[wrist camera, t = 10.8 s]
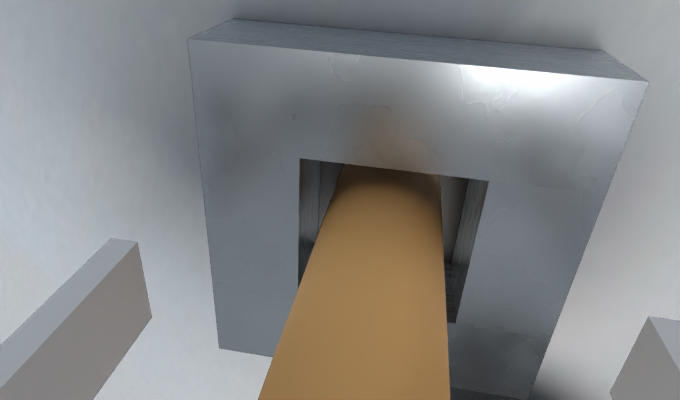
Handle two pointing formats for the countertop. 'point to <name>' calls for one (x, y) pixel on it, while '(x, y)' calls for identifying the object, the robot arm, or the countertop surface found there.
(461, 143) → the grey peg socket
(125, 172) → the countertop surface
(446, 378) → the orange cylindrical peg
